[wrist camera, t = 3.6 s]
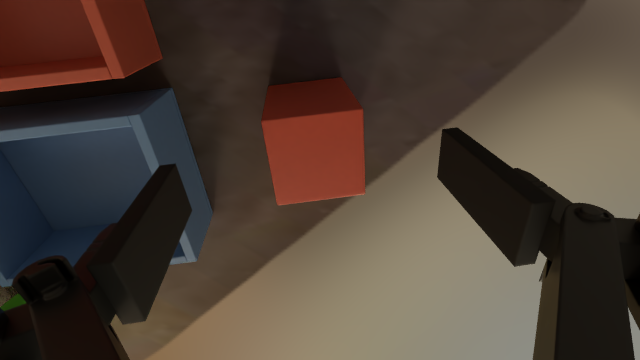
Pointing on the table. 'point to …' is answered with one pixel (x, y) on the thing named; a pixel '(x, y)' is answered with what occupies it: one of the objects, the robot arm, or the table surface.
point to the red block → (314, 141)
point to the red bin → (73, 41)
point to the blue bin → (88, 173)
